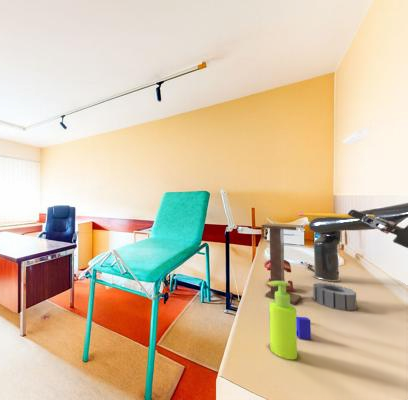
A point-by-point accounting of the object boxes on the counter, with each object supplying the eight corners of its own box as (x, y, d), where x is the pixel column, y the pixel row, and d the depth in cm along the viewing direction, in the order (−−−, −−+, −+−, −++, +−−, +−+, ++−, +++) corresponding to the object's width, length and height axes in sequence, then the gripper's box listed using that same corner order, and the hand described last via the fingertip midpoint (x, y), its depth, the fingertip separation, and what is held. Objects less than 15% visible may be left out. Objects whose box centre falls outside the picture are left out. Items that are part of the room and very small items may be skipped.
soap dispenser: (261, 345, 63) (260, 278, 63) (283, 344, 64) (282, 277, 64) (279, 360, 57) (278, 286, 58) (303, 358, 58) (301, 285, 58)
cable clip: (272, 317, 78) (272, 301, 79) (286, 318, 78) (286, 302, 78) (294, 337, 67) (293, 318, 67) (310, 339, 66) (310, 320, 66)
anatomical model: (271, 289, 100) (267, 257, 106) (266, 290, 107) (263, 259, 113) (299, 293, 96) (294, 259, 102) (292, 293, 103) (288, 261, 108)
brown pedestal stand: (263, 295, 96) (261, 224, 96) (271, 290, 102) (269, 223, 102) (297, 306, 86) (296, 227, 87) (304, 299, 92) (302, 225, 92)
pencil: (298, 216, 89) (298, 212, 89) (299, 215, 90) (299, 212, 90) (374, 219, 73) (374, 215, 73) (374, 218, 74) (374, 214, 74)
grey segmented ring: (309, 294, 97) (309, 281, 97) (347, 300, 91) (347, 286, 91) (319, 306, 86) (319, 291, 86) (362, 313, 80) (362, 297, 80)
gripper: (433, 229, 68) (359, 202, 80) (436, 233, 60) (354, 203, 73) (413, 247, 71) (345, 219, 83) (414, 254, 63) (339, 221, 76)
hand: (350, 211), depth 78 cm, fingers closed on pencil, 1 cm apart
